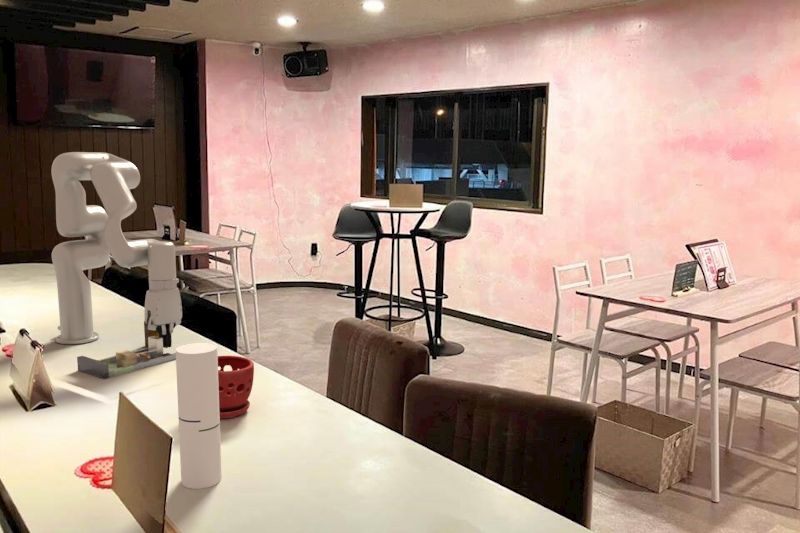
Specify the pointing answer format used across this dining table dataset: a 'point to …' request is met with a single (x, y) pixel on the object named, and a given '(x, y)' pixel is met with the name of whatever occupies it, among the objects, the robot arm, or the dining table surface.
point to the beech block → (126, 358)
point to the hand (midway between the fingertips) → (165, 346)
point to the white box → (152, 349)
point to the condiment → (148, 334)
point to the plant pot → (234, 385)
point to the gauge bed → (110, 368)
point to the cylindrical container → (198, 415)
